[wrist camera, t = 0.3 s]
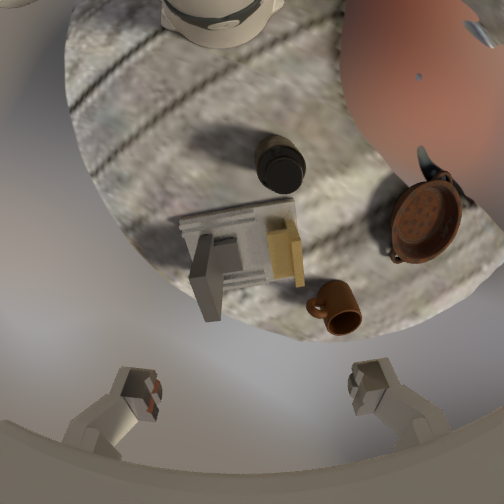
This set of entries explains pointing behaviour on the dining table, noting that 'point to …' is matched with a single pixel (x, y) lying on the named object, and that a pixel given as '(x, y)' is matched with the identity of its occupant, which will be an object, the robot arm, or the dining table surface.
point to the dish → (425, 220)
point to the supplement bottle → (279, 165)
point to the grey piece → (253, 241)
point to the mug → (336, 308)
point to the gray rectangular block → (213, 273)
